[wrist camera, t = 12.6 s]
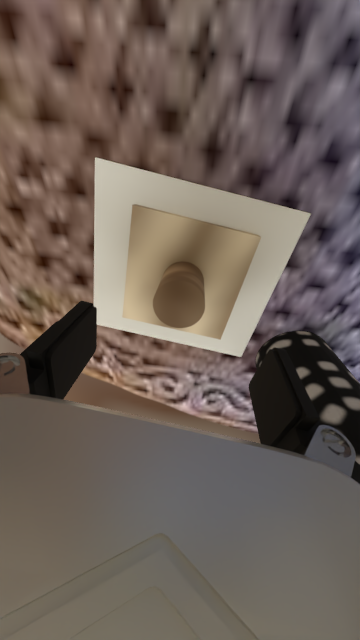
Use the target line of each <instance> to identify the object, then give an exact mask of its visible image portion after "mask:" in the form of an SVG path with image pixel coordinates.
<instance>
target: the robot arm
mask: <svg viewBox="0 0 360 640" xmlns="http://www.w3.org/2000/svg"><path fill="white" fill-rule="evenodd" d="M96 333H97V308H96V307H94V305H93V304H92V303H88V302H84V301H80V302H79V303H78V304H77V305H76V306H75V307H74V308H73V309H71V310H70V311H69V312H68V313H67V314H66V315H65V316H64V317H63V318H62V319H60V320H59V321H58V322H56V323H54V324H53V325H52V326H51V327H50V328H49V329H48V330H46V331H45V332H44V333H43V334H42V335H41V336H40V337H39V338H38V339H36V340H35V341H34V342H33V343H32V344H31V345H30V346H29V347H28V348H26V349H25V350H24V351H23V352H22V353H21V354H20V355H19V354H16V353H1V354H0V640H360V464H359V463H357V462H356V461H355V458H356V453H355V450H354V447H353V446H352V444H351V443H350V441H349V440H348V439H347V438H346V437H345V436H344V435H343V434H342V433H341V432H340V431H338V430H336V429H335V428H333V427H331V426H328V425H321V424H320V422H319V419H320V417H319V415H318V413H317V411H316V409H315V407H314V405H313V403H312V401H311V399H310V397H309V395H308V393H307V391H306V389H305V387H304V385H303V383H302V381H301V379H300V377H299V375H298V373H297V371H296V369H295V367H294V365H293V363H292V361H291V359H290V357H289V355H288V353H287V351H286V350H284V349H280V348H276V347H275V348H273V349H270V350H269V351H268V352H267V354H266V356H265V357H264V359H263V361H262V363H261V364H260V366H259V368H258V369H257V371H256V373H255V375H254V376H253V378H252V380H251V381H250V384H249V391H250V396H251V400H252V405H253V410H254V414H255V419H256V424H257V428H258V433H259V438H260V442H261V444H259V443H256V442H251V441H247V440H242V439H238V438H234V437H230V436H225V435H221V434H217V433H213V432H208V431H204V430H199V429H195V428H191V427H186V426H182V425H177V424H173V423H169V422H164V421H160V420H155V419H150V418H146V417H142V416H137V415H133V414H128V413H124V412H119V411H115V410H110V409H106V408H101V407H97V406H92V405H87V404H83V403H78V402H73V401H68V400H63V399H64V397H65V396H66V394H67V392H68V391H69V390H70V388H71V387H72V385H73V384H74V382H75V381H76V379H77V378H78V376H79V375H80V373H81V372H82V370H83V369H84V367H85V366H86V364H87V363H88V361H89V360H90V358H91V357H92V356H93V354H94V352H95V350H96Z"/></svg>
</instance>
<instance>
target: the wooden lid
mask: <svg viewBox="0 0 360 640" xmlns="http://www.w3.org/2000/svg"><path fill="white" fill-rule="evenodd" d="M260 239H261V237H260V236H259V235H256V234H252V233H248V232H244V231H240V230H236V229H232V228H228V227H224V226H220V225H216V224H212V223H208V222H204V221H200V220H197V219H193V218H189V217H185V216H181V215H177V214H173V213H169V212H165V211H161V210H157V209H153V208H149V207H145V206H141V205H137V204H134V205H132V215H131V226H130V237H129V248H128V260H127V271H126V282H125V293H124V304H123V315H122V317H123V318H127V319H132V320H136V321H141V322H145V323H149V324H154V325H158V326H163V327H167V328H171V329H176V330H180V331H185V332H189V333H194V334H198V335H202V336H207V337H211V338H216V339H220V340H221V337H222V335H223V332H224V330H225V327H226V325H227V322H228V320H229V317H230V315H231V312H232V310H233V307H234V305H235V302H236V300H237V297H238V295H239V292H240V290H241V287H242V285H243V282H244V279H245V277H246V274H247V272H248V269H249V267H250V264H251V262H252V259H253V257H254V254H255V252H256V249H257V247H258V244H259V242H260Z"/></svg>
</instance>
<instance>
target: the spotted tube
mask: <svg viewBox="0 0 360 640" xmlns="http://www.w3.org/2000/svg"><path fill="white" fill-rule="evenodd" d="M275 347H276V348H280V349H284V350H286V351H287V353H288V355H289V357H290V359H291V361H292V363H293V365H294V367H295V369H296V371H297V373H298V375H299V377H300V379H301V381H302V383H303V385H304V387H305V389H306V391H307V393H308V395H309V397H310V399H311V401H312V403H313V405H314V407H315V409H316V411H317V413H318V415H319V417H320V419H319V422H320V424H321V425H328V426H331V427H333V428H335V429H336V430H338V431H340V432H341V433H342V434H343V435H344V436H345V437H346V438H347V439H348V440H349V441H350V443H351V444H352V446H353V447H354V450H355V453H356V458H355V461H356V462H357V463H359V464H360V383H359V382H358V381H357V380H356V378H355V377H354V376H353V375H352V374H351V372H350V371H349V370H348V369H347V368H346V366H345V365H344V364H343V363H342V362H341V360H340V359H339V358H338V357H337V356H336V354H335V353H334V352H333V351H332V350H331V348H330V347H329V346H328V345H327V344H326V342H325V341H324V340H323V339H322V338H321V337H319V336H317V335H315V334H313V333H310V332H304V331H293V332H287V333H284V334H280V335H278V336H276V337H274V338H272V339H271V340H269V341H268V342H266V343H265V344H264V345H263V346H262V347H261V349H260V350H259V352H258V354H257V356H256V368H257V369H258V368H259V366H260V364H261V363H262V361H263V359H264V357H265V356H266V354H267V352H268V351H269V350H270V349H273V348H275Z"/></svg>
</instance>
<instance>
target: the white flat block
mask: <svg viewBox="0 0 360 640" xmlns="http://www.w3.org/2000/svg"><path fill="white" fill-rule="evenodd" d="M134 204H137V205H141V206H145V207H149V208H153V209H157V210H161V211H165V212H169V213H173V214H177V215H181V216H185V217H189V218H193V219H197V220H200V221H204V222H208V223H212V224H216V225H220V226H224V227H228V228H232V229H236V230H240V231H244V232H248V233H252V234H256V235H259V236H260V237H261V239H260V242H259V244H258V247H257V249H256V252H255V254H254V257H253V259H252V262H251V264H250V267H249V269H248V272H247V274H246V277H245V279H244V282H243V285H242V287H241V290H240V292H239V295H238V297H237V300H236V302H235V305H234V307H233V310H232V312H231V315H230V317H229V320H228V322H227V325H226V327H225V330H224V332H223V335H222V337H221V340H220V339H216V338H211V337H207V336H202V335H198V334H194V333H189V332H185V331H180V330H176V329H171V328H167V327H163V326H158V325H154V324H149V323H145V322H141V321H136V320H132V319H127V318H123V317H122V315H123V304H124V293H125V282H126V271H127V260H128V248H129V237H130V226H131V215H132V205H134ZM310 215H311V213H307V212H303V211H299V210H295V209H291V208H288V207H284V206H280V205H276V204H272V203H268V202H265V201H261V200H257V199H253V198H249V197H245V196H242V195H238V194H234V193H230V192H226V191H222V190H219V189H215V188H211V187H207V186H203V185H199V184H196V183H192V182H188V181H184V180H180V179H176V178H172V177H169V176H165V175H161V174H157V173H153V172H149V171H146V170H142V169H138V168H134V167H130V166H126V165H123V164H119V163H115V162H111V161H107V160H103V159H100V158H96V157H95V212H94V307H96V308H97V325H101V326H106V327H110V328H115V329H119V330H123V331H128V332H132V333H137V334H141V335H146V336H150V337H155V338H159V339H163V340H168V341H172V342H177V343H181V344H186V345H190V346H194V347H199V348H203V349H208V350H212V351H217V352H221V353H225V354H230V355H234V356H239V357H241V356H242V354H243V352H244V350H245V348H246V346H247V344H248V342H249V340H250V338H251V336H252V334H253V332H254V329H255V327H256V325H257V323H258V321H259V319H260V317H261V315H262V313H263V311H264V309H265V307H266V305H267V303H268V301H269V299H270V297H271V295H272V293H273V291H274V289H275V287H276V284H277V282H278V280H279V278H280V276H281V274H282V272H283V270H284V268H285V266H286V264H287V262H288V260H289V258H290V256H291V254H292V252H293V250H294V248H295V246H296V244H297V242H298V239H299V237H300V235H301V233H302V231H303V229H304V227H305V225H306V223H307V221H308V219H309V217H310Z"/></svg>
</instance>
